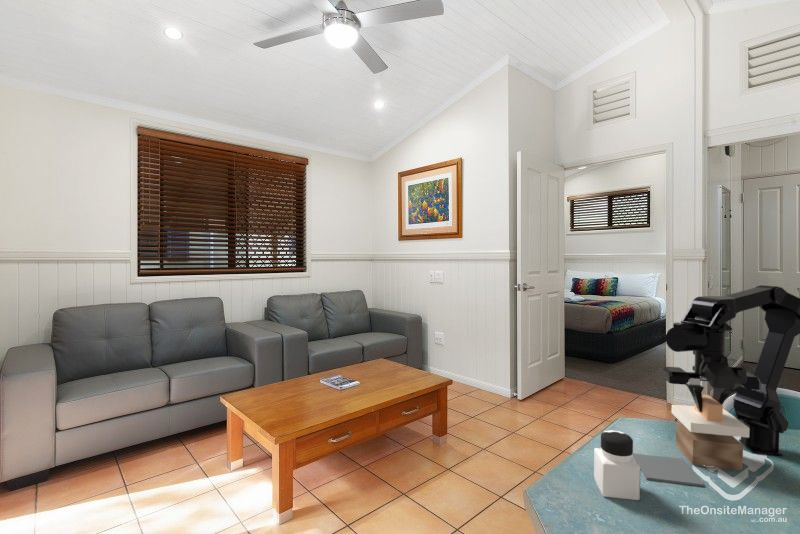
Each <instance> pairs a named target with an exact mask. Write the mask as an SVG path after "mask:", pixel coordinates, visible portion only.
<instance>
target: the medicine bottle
mask: <svg viewBox="0 0 800 534" xmlns="http://www.w3.org/2000/svg"><path fill="white" fill-rule="evenodd" d="M593 451H594V453H593V454H594V455H593V458H594V459H593V462H594V463H593V479H594V481H595V483H596V486H597V487H598V488H599V492H600V493H601V496H602V497H605V498H614V499H620V500H621V499H622V500H630V501H631V500H632V501H641V469H640V466H639V465H638V463H637V462H636V461H635V459H634V458H633V453H634V439H633V438H632V437H631V436H630V435H629V434H627V433H625V432H623V431H620V430H619V431H618V430H612V429H611V430H609V429H608V430H605V431H603V432H601V433H600V448H599V447H595V448H594V449H593Z"/></svg>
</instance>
